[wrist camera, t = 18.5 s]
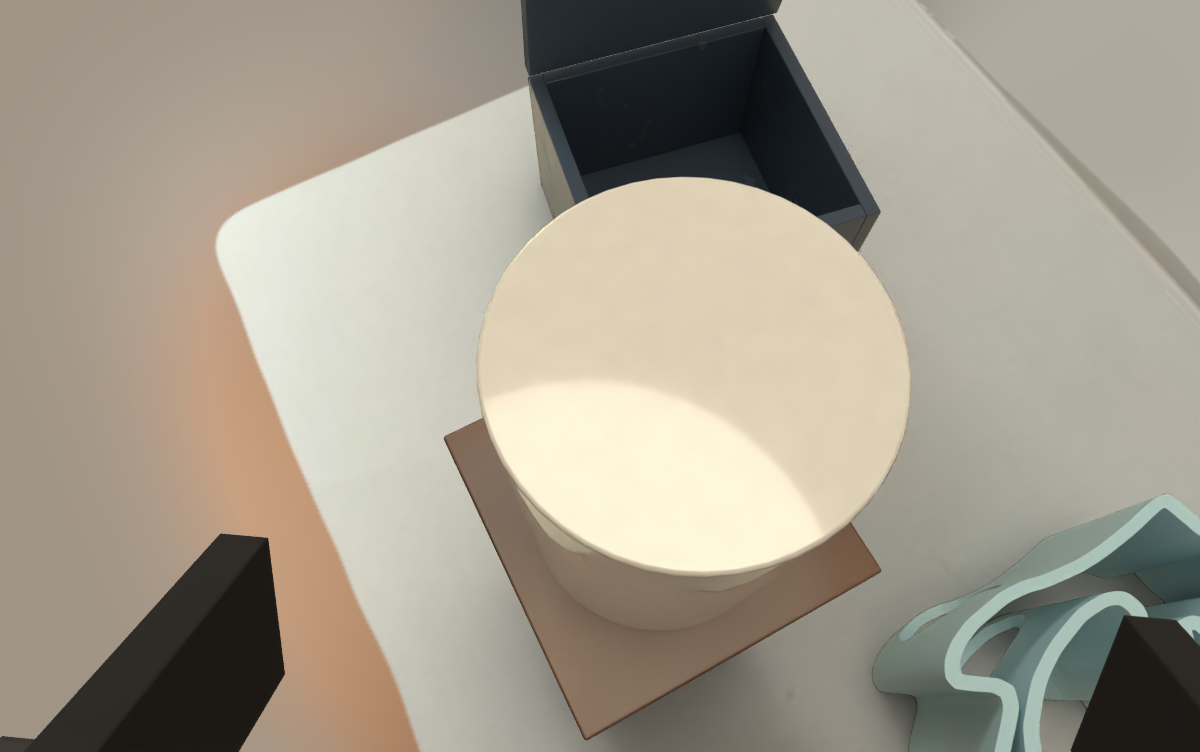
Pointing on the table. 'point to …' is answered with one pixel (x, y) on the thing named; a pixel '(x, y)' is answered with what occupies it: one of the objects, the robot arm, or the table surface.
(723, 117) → the grey box
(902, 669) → the squiggly pen holder
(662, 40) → the box lid
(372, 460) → the table surface
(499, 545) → the stand
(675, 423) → the beige canister
